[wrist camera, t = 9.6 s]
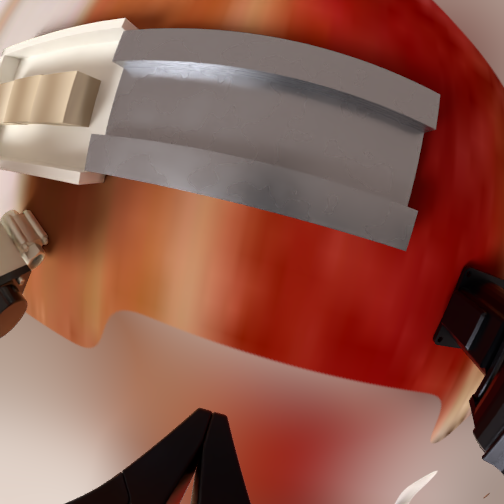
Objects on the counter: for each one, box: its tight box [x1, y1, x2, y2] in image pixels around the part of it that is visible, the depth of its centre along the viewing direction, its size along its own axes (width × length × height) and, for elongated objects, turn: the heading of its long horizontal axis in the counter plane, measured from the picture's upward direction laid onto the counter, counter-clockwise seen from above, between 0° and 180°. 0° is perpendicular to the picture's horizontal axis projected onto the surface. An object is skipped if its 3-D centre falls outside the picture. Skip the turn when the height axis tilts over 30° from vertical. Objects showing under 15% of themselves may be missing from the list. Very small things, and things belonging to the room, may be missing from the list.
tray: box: [0, 18, 139, 185], centre depth 15 cm, size 16×12×3 cm
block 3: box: [29, 71, 101, 127], centre depth 15 cm, size 4×4×3 cm
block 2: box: [4, 74, 42, 124], centre depth 15 cm, size 4×4×3 cm
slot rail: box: [84, 28, 440, 251], centre depth 15 cm, size 20×10×3 cm, turn 76°
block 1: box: [0, 81, 28, 125], centre depth 15 cm, size 4×4×3 cm
